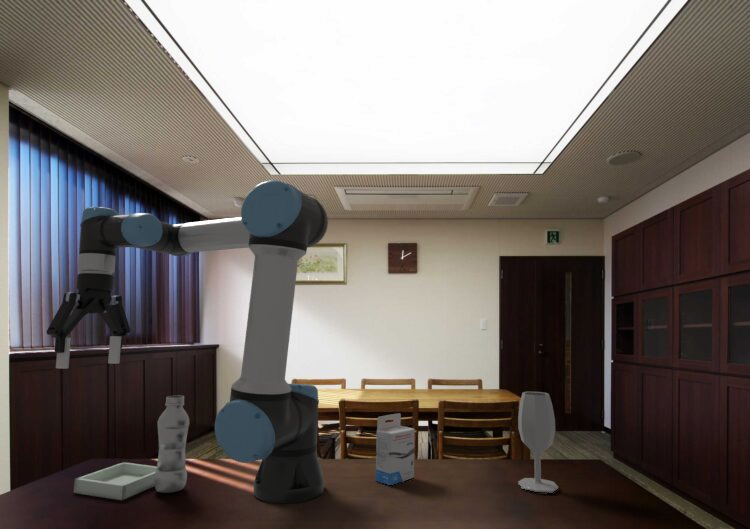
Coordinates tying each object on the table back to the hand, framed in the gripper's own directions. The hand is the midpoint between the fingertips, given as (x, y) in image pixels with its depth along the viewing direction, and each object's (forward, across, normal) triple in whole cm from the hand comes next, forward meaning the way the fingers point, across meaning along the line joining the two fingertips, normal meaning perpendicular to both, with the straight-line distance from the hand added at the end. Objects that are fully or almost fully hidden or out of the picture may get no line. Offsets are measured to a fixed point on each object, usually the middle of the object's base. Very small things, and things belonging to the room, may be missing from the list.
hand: (89, 365), depth 109 cm
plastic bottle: (+27, -4, +21) cm, 34 cm away
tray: (+26, -3, +9) cm, 28 cm away
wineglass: (+28, -33, +97) cm, 106 cm away
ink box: (+27, -27, +65) cm, 76 cm away
